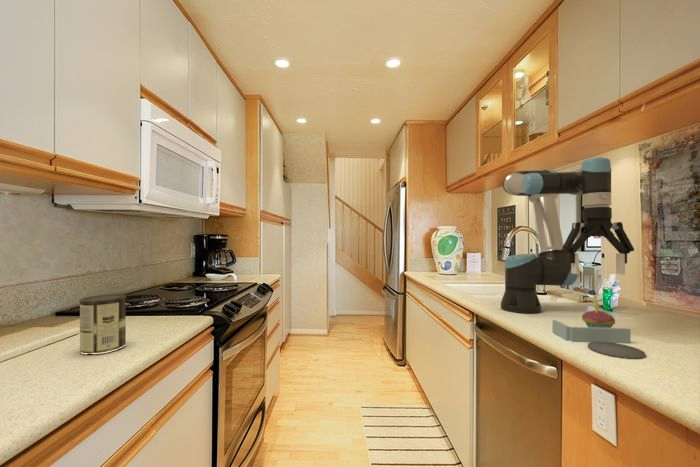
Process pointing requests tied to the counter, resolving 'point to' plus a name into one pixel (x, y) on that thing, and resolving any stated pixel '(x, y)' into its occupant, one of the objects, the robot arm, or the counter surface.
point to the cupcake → (598, 318)
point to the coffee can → (102, 323)
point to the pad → (616, 350)
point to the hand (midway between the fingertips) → (597, 274)
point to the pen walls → (591, 333)
